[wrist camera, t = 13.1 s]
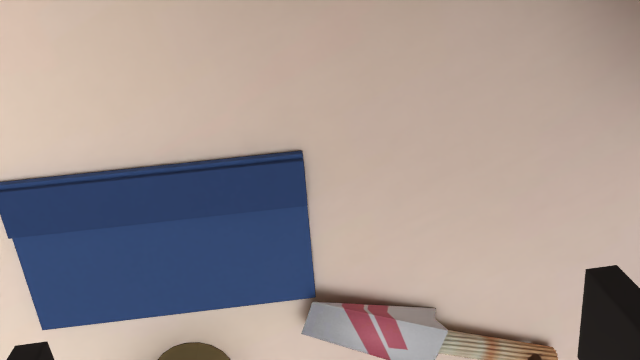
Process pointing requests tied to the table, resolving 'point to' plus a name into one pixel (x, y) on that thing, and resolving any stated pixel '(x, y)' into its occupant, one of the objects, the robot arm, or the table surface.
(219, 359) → the olive pawn figure
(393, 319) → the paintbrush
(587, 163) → the table surface
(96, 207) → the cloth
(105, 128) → the table surface
